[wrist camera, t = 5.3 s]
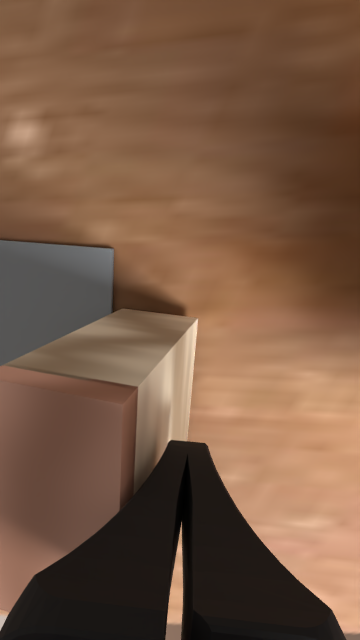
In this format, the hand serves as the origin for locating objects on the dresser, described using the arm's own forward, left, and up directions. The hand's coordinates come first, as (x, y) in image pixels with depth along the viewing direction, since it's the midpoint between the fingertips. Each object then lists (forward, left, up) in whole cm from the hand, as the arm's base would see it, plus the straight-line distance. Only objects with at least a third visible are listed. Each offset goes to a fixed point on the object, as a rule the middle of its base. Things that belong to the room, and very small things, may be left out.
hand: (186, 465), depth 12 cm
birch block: (+2, 0, -6) cm, 6 cm away
